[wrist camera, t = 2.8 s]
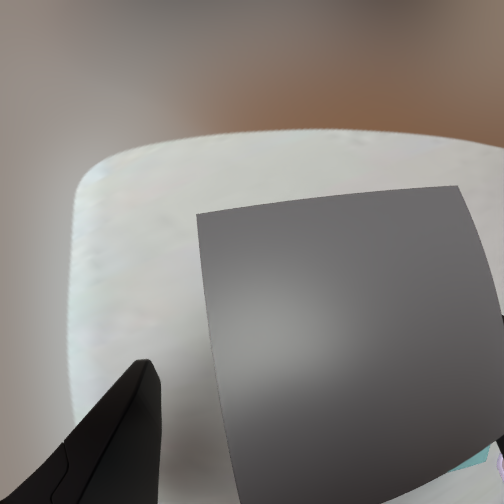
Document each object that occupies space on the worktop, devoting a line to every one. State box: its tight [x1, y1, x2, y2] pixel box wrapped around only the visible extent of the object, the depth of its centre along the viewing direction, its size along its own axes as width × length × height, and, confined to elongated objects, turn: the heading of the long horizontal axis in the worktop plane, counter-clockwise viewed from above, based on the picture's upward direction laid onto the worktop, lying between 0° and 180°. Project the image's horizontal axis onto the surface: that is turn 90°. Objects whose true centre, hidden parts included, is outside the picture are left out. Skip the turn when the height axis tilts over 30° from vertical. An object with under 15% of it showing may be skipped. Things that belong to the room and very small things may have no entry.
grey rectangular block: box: [196, 186, 504, 504], centre depth 9 cm, size 4×4×12 cm
